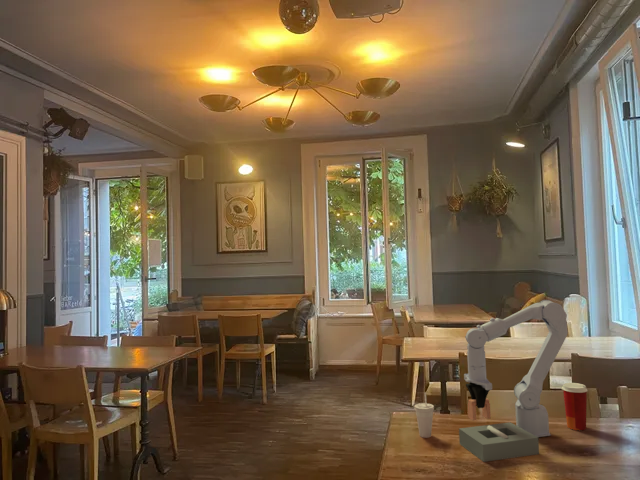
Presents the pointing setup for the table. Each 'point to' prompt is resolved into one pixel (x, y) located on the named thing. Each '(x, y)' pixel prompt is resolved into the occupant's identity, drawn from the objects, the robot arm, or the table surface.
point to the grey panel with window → (498, 441)
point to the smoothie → (424, 418)
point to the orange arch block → (472, 409)
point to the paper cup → (575, 405)
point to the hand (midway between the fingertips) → (478, 406)
